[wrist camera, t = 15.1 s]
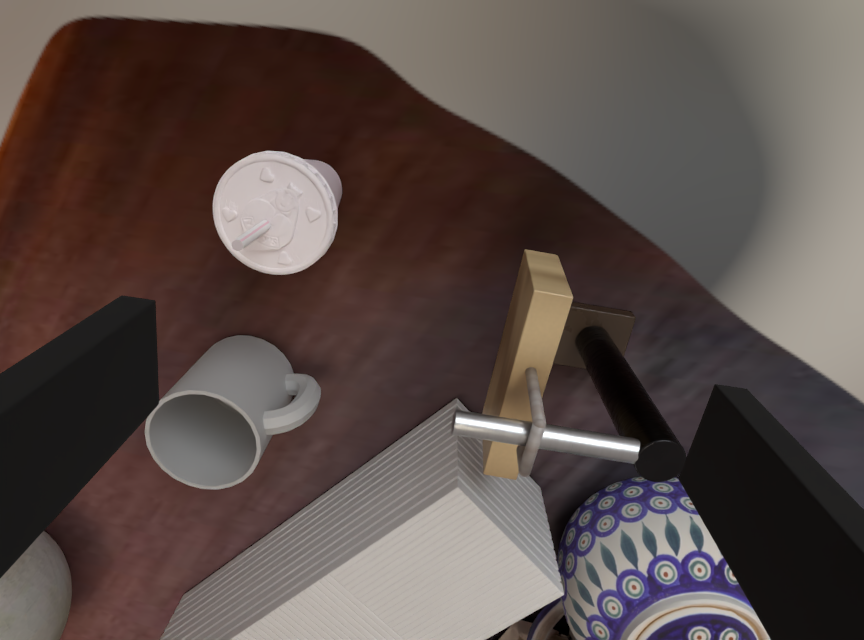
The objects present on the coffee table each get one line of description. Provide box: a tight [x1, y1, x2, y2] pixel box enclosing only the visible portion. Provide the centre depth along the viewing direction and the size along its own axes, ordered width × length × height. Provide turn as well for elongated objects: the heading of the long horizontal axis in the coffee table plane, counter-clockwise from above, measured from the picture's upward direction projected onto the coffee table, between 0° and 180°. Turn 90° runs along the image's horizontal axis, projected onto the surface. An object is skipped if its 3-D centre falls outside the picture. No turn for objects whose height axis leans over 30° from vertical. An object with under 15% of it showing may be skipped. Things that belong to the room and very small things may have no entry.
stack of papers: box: [159, 398, 564, 640], centre depth 44 cm, size 32×11×11 cm, turn 130°
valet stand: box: [451, 302, 686, 482], centre depth 34 cm, size 4×12×16 cm, turn 81°
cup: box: [145, 335, 321, 490], centre depth 40 cm, size 7×10×9 cm
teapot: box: [527, 476, 771, 640], centre depth 41 cm, size 25×15×15 cm, turn 128°
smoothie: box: [213, 151, 342, 275], centre depth 32 cm, size 6×6×14 cm
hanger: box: [482, 249, 573, 480], centre depth 32 cm, size 12×2×11 cm, turn 170°
